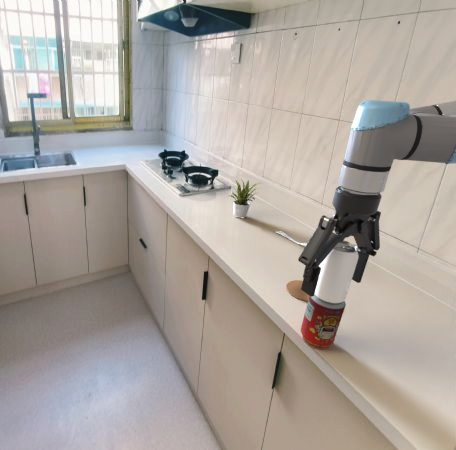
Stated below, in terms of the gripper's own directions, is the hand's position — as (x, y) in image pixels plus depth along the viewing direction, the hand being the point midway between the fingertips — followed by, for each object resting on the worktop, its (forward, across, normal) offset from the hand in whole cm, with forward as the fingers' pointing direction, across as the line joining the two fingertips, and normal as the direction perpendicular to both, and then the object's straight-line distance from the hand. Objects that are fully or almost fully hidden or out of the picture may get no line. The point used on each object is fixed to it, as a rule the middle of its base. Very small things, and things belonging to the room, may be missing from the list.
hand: (331, 286), depth 71 cm
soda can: (+15, 0, 0) cm, 15 cm away
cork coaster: (+15, -13, -16) cm, 25 cm away
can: (+3, 0, 0) cm, 3 cm away
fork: (+15, -33, -40) cm, 53 cm away
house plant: (+15, -30, -67) cm, 75 cm away
